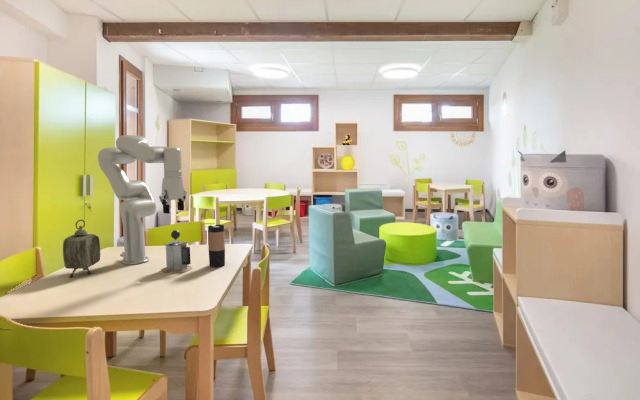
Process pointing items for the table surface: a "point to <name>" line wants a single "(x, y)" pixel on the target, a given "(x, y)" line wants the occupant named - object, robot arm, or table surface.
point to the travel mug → (216, 246)
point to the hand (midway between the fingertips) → (173, 211)
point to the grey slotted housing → (177, 256)
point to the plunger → (175, 235)
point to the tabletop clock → (81, 250)
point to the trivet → (176, 272)
